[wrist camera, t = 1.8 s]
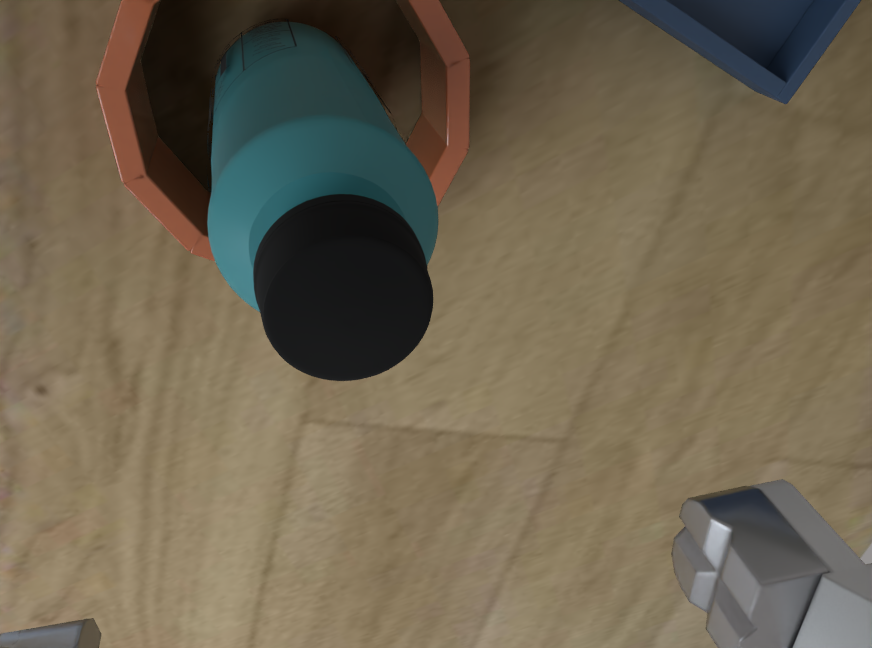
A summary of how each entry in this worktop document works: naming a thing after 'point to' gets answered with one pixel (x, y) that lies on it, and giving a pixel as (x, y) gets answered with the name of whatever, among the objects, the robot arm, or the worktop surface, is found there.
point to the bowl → (185, 196)
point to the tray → (753, 36)
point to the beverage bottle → (318, 205)
